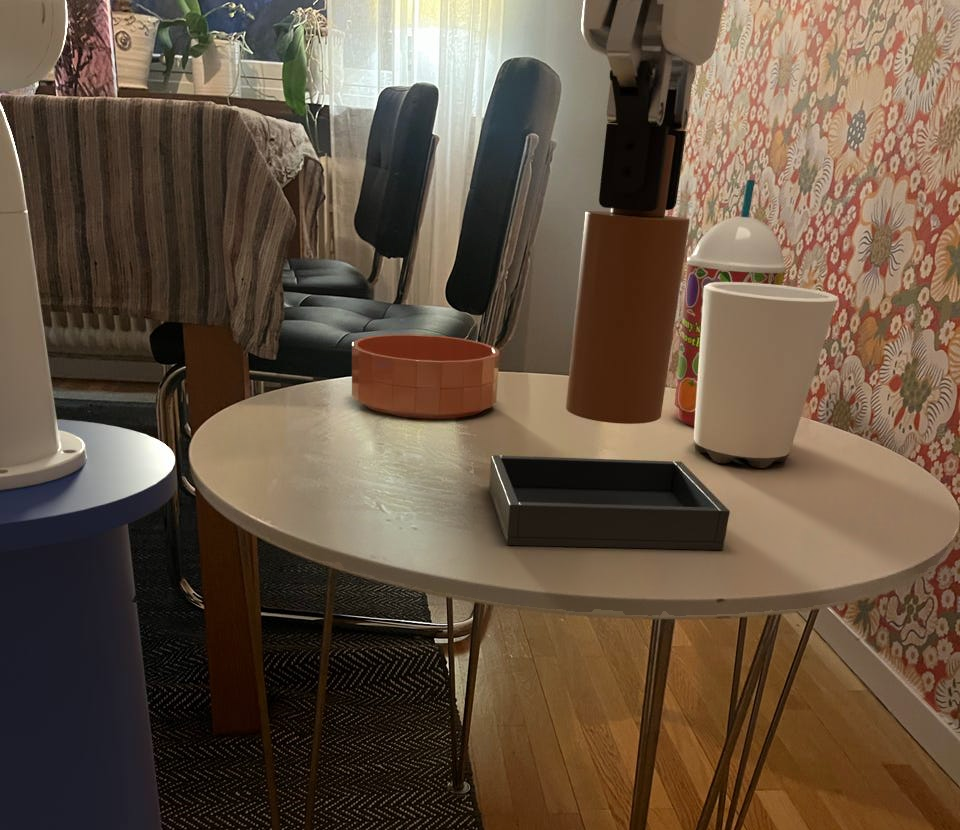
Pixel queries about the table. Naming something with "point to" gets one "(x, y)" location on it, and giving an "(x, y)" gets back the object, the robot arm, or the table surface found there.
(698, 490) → the tray
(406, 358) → the bowl
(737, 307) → the cup
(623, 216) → the bottle
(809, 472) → the table surface
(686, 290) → the smoothie
